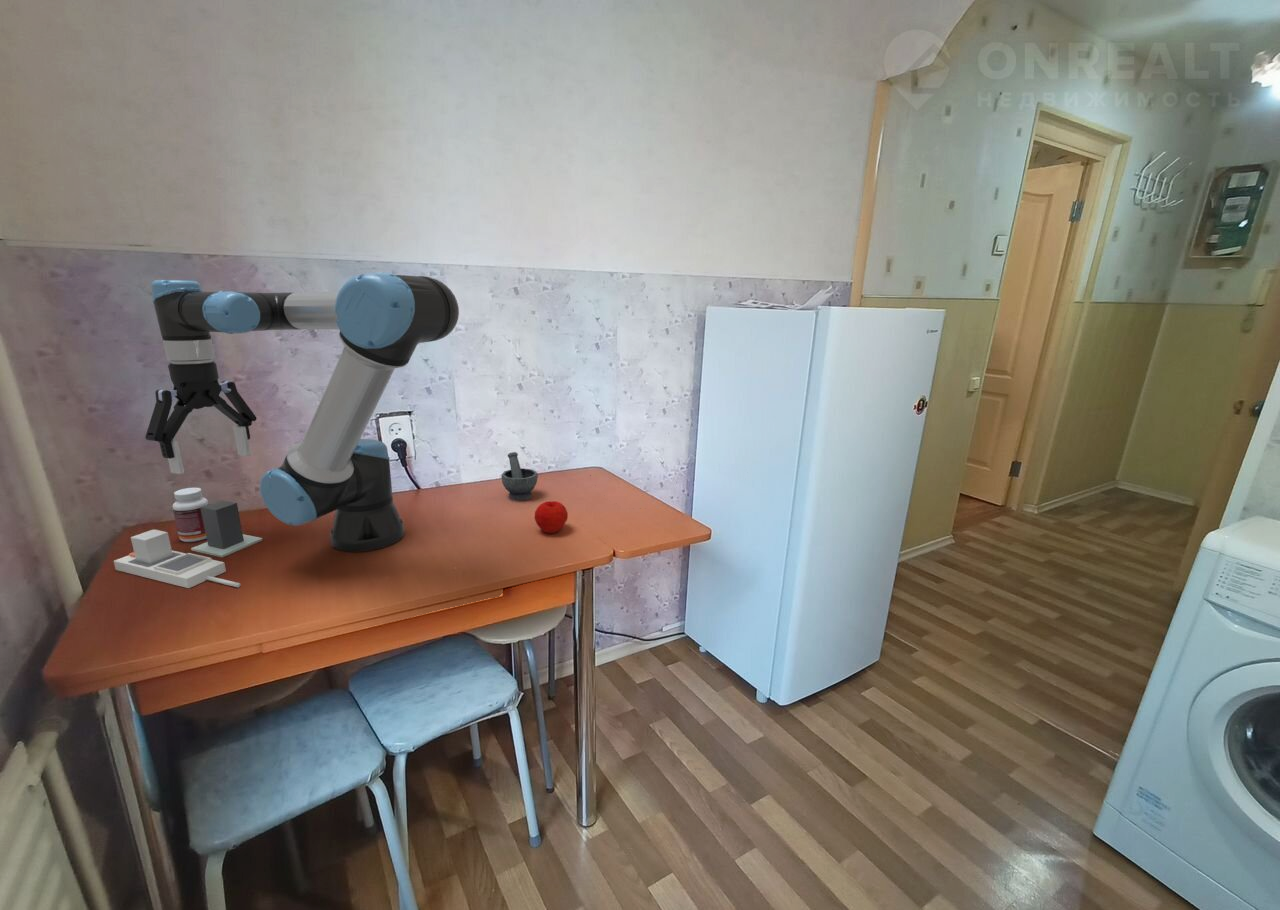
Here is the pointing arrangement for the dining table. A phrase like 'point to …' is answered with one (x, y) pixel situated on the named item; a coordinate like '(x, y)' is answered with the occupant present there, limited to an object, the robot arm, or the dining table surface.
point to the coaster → (224, 552)
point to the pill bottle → (189, 514)
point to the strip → (169, 562)
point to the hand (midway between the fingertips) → (213, 463)
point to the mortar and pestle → (519, 479)
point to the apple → (551, 516)
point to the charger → (222, 524)
